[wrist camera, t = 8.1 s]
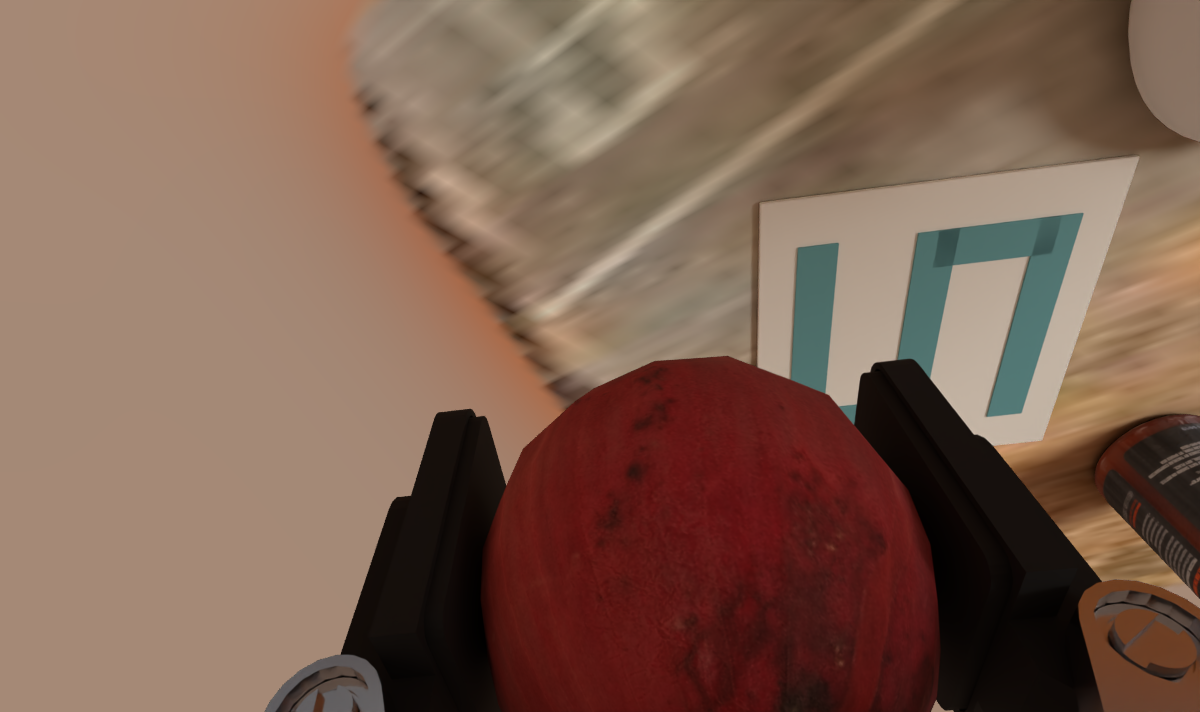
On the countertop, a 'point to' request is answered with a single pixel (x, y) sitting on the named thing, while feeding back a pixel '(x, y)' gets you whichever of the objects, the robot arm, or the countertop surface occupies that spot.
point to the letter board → (941, 286)
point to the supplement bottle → (1159, 489)
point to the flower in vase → (1168, 61)
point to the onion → (708, 556)
